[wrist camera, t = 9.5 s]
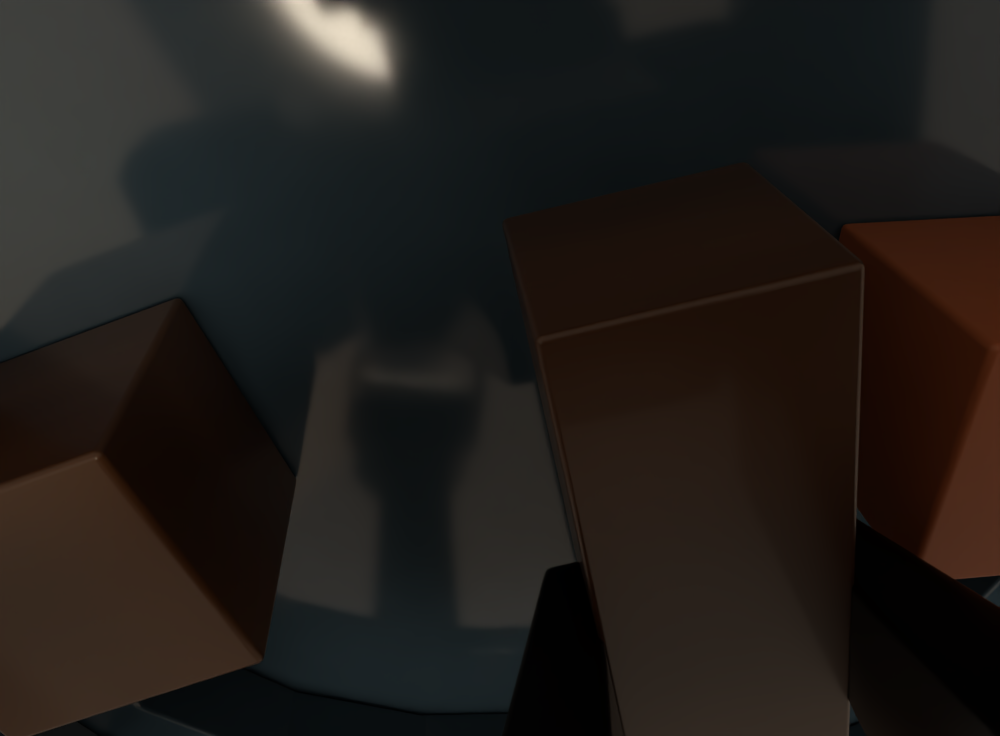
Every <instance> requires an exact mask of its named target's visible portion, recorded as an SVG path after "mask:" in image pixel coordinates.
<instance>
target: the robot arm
mask: <svg viewBox="0 0 1000 736" xmlns="http://www.w3.org/2000/svg"><path fill="white" fill-rule="evenodd" d="M848 700H849V702H850V704H851V707H852V709H853V711H854V713H855V715H856V717H857V719H858V721H859V723H860V725H861V727H862V728H863V730H864V732H865V734H866V736H1000V607H999V606H997V605H995V604H994V603H992V602H991V601H989V600H987V599H986V598H984V597H982V596H981V595H979V594H978V593H976V592H974V591H973V590H971V589H970V588H968V587H966V586H965V585H963V584H961V583H960V582H958V581H957V580H955V579H953V578H952V577H950V576H949V575H947V574H945V573H944V572H942V571H940V570H939V569H937V568H936V567H934V566H932V565H931V564H929V563H928V562H926V561H924V560H923V559H921V558H919V557H918V556H916V555H915V554H913V553H911V552H910V551H908V550H907V549H905V548H903V547H902V546H900V545H898V544H897V543H895V542H894V541H892V540H890V539H889V538H887V537H886V536H884V535H882V534H881V533H879V532H877V531H876V530H874V529H873V528H871V527H869V526H868V525H866V524H865V523H863V522H861V521H860V520H858V519H856V543H855V572H854V585H853V586H852V596H851V628H850V660H849V692H848ZM502 736H624V735H623V730H622V726H621V721H620V717H619V712H618V707H617V703H616V698H615V694H614V689H613V684H612V680H611V675H610V671H609V666H608V661H607V657H606V652H605V648H604V644H603V642H602V641H601V640H600V638H599V637H598V633H597V630H596V626H595V622H594V618H593V614H592V610H591V606H590V602H589V598H588V594H587V590H586V587H585V583H584V579H583V575H582V571H581V567H580V563H579V562H572V563H568V564H563V565H559V566H555V567H551V568H548V569H547V570H546V572H545V574H544V577H543V581H542V585H541V588H540V592H539V596H538V600H537V603H536V607H535V611H534V615H533V619H532V622H531V626H530V630H529V634H528V638H527V641H526V645H525V649H524V653H523V657H522V660H521V664H520V668H519V672H518V676H517V679H516V683H515V687H514V691H513V695H512V698H511V702H510V706H509V710H508V713H507V717H506V721H505V725H504V729H503V732H502Z"/></svg>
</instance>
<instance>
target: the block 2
mask: <svg viewBox="0 0 1000 736" xmlns="http://www.w3.org/2000/svg"><path fill="white" fill-rule="evenodd" d="M839 242H840V243H841V244H843V245H844V246H845V247H846V248H847V249H848V250H850V251H851V252H852V253H853V254H854V255H856V256H857V257H858V258H859V259H860V260H861V261H862V262H863V264H864V266H865V282H864V311H863V340H862V369H861V398H860V427H859V456H858V485H857V508H858V510H859V511H860V513H861V514H862V515H863V517H864V518H865V520H866V521H867V523H868V524H869V525H870V527H871V528H873V529H874V530H876V531H877V532H879V533H881V534H882V535H884V536H886V537H887V538H889V539H890V540H892V541H894V542H895V543H897V544H898V545H900V546H902V547H903V548H905V549H907V550H908V551H910V552H911V553H913V554H915V555H916V556H918V557H919V558H921V559H923V560H924V561H926V562H928V563H929V564H931V565H932V566H934V567H936V568H937V569H939V570H940V571H942V572H944V573H945V574H947V575H949V576H950V577H952V578H953V579H965V578H976V577H988V576H999V575H1000V216H985V217H966V218H948V219H929V220H910V221H891V222H872V223H853V224H845V225H843V227H842V228H841V233H840V238H839Z"/></svg>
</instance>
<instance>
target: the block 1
mask: <svg viewBox="0 0 1000 736" xmlns="http://www.w3.org/2000/svg"><path fill="white" fill-rule="evenodd" d="M295 487H296V478H295V476H294V475H293V473H292V472H291V470H290V469H289V467H288V465H287V464H286V462H285V461H284V459H283V458H282V456H281V454H280V453H279V451H278V450H277V448H276V447H275V445H274V444H273V442H272V440H271V439H270V437H269V436H268V434H267V433H266V431H265V429H264V428H263V426H262V425H261V423H260V422H259V420H258V418H257V417H256V415H255V414H254V412H253V411H252V409H251V407H250V406H249V404H248V403H247V401H246V400H245V398H244V396H243V395H242V393H241V392H240V390H239V389H238V387H237V385H236V384H235V382H234V381H233V379H232V378H231V376H230V374H229V373H228V371H227V370H226V368H225V367H224V365H223V363H222V362H221V360H220V359H219V357H218V356H217V354H216V352H215V351H214V349H213V348H212V346H211V345H210V343H209V341H208V340H207V338H206V337H205V335H204V334H203V332H202V330H201V329H200V327H199V326H198V324H197V323H196V321H195V319H194V318H193V316H192V315H191V313H190V312H189V310H188V308H187V307H186V305H185V304H184V302H183V301H182V300H181V299H173V300H171V301H168V302H165V303H162V304H160V305H157V306H154V307H152V308H149V309H146V310H143V311H141V312H138V313H135V314H133V315H130V316H127V317H124V318H122V319H119V320H116V321H114V322H111V323H108V324H106V325H103V326H100V327H97V328H95V329H92V330H89V331H87V332H84V333H81V334H78V335H76V336H73V337H70V338H68V339H65V340H62V341H59V342H57V343H54V344H51V345H49V346H46V347H43V348H40V349H38V350H35V351H32V352H30V353H27V354H24V355H22V356H19V357H16V358H13V359H11V360H8V361H5V362H3V363H0V732H1V733H2V734H3V735H5V736H33V735H36V734H39V733H42V732H45V731H48V730H51V729H54V728H58V727H61V726H64V725H67V724H70V723H73V722H76V721H80V720H83V719H86V718H89V717H92V716H95V715H98V714H101V713H105V712H108V711H111V710H114V709H117V708H120V707H123V706H127V705H130V704H133V703H136V702H139V701H142V700H145V699H148V698H152V697H155V696H158V695H161V694H164V693H167V692H170V691H174V690H177V689H180V688H183V687H186V686H189V685H192V684H195V683H199V682H202V681H205V680H208V679H211V678H214V677H217V676H221V675H224V674H227V673H230V672H233V671H236V670H239V669H242V668H246V667H249V666H252V665H255V664H258V663H260V662H261V661H263V659H264V657H265V652H266V646H267V641H268V635H269V630H270V624H271V619H272V613H273V608H274V602H275V597H276V591H277V586H278V580H279V575H280V569H281V564H282V558H283V553H284V547H285V542H286V536H287V531H288V525H289V520H290V514H291V509H292V503H293V498H294V492H295Z"/></svg>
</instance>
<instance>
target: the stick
mask: <svg viewBox="0 0 1000 736" xmlns="http://www.w3.org/2000/svg"><path fill="white" fill-rule="evenodd" d="M502 227H503V231H504V236H505V240H506V245H507V249H508V254H509V258H510V263H511V267H512V272H513V276H514V281H515V285H516V290H517V294H518V299H519V303H520V307H521V312H522V316H523V321H524V325H525V330H526V334H527V339H528V343H529V348H530V352H531V357H532V361H533V366H534V370H535V375H536V379H537V383H538V388H539V392H540V397H541V401H542V406H543V410H544V415H545V419H546V424H547V428H548V433H549V437H550V442H551V446H552V451H553V455H554V459H555V464H556V468H557V473H558V477H559V482H560V486H561V491H562V495H563V500H564V504H565V509H566V513H567V518H568V522H569V527H570V531H571V536H572V540H573V544H574V549H575V553H576V558H577V562H579V563H580V567H581V571H582V575H583V579H584V583H585V587H586V590H587V594H588V598H589V602H590V606H591V610H592V614H593V618H594V622H595V626H596V630H597V633H598V637H599V638H600V640H601V641H602V642H603V644H604V648H605V652H606V657H607V661H608V666H609V671H610V675H611V680H612V684H613V689H614V694H615V698H616V703H617V707H618V712H619V717H620V721H621V726H622V730H623V735H624V736H849V717H850V702H849V700H848V692H849V660H850V628H851V596H852V586H853V585H854V572H855V543H856V514H857V485H858V456H859V427H860V398H861V369H862V340H863V311H864V282H865V266H864V264H863V262H862V261H861V260H860V259H859V258H858V257H857V256H856V255H854V254H853V253H852V252H851V251H850V250H848V249H847V248H846V247H845V246H844V245H843V244H841V243H840V242H839V241H838V240H837V239H836V238H834V237H833V236H832V235H831V234H830V233H829V232H827V231H826V230H825V229H824V228H823V227H822V226H820V225H819V224H818V223H817V222H816V221H815V220H813V219H812V218H811V217H810V216H809V215H807V214H806V213H805V212H804V211H803V210H802V209H800V208H799V207H798V206H797V205H796V204H795V203H793V202H792V201H791V200H790V199H789V198H788V197H786V196H785V195H784V194H783V193H782V192H781V191H779V190H778V189H777V188H776V187H775V186H773V185H772V184H771V183H770V182H769V181H768V180H766V179H765V178H764V177H763V176H762V175H761V174H759V173H758V172H757V171H756V170H755V169H754V168H752V167H751V166H750V165H749V164H748V163H744V162H741V163H737V164H733V165H729V166H725V167H720V168H716V169H712V170H708V171H704V172H699V173H695V174H691V175H687V176H683V177H678V178H674V179H670V180H666V181H661V182H657V183H653V184H649V185H645V186H640V187H636V188H632V189H628V190H624V191H619V192H615V193H611V194H607V195H603V196H598V197H594V198H590V199H586V200H582V201H577V202H573V203H569V204H565V205H561V206H556V207H552V208H548V209H544V210H540V211H535V212H531V213H527V214H523V215H519V216H514V217H510V218H507V219H505V220H504V221H503V224H502Z"/></svg>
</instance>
